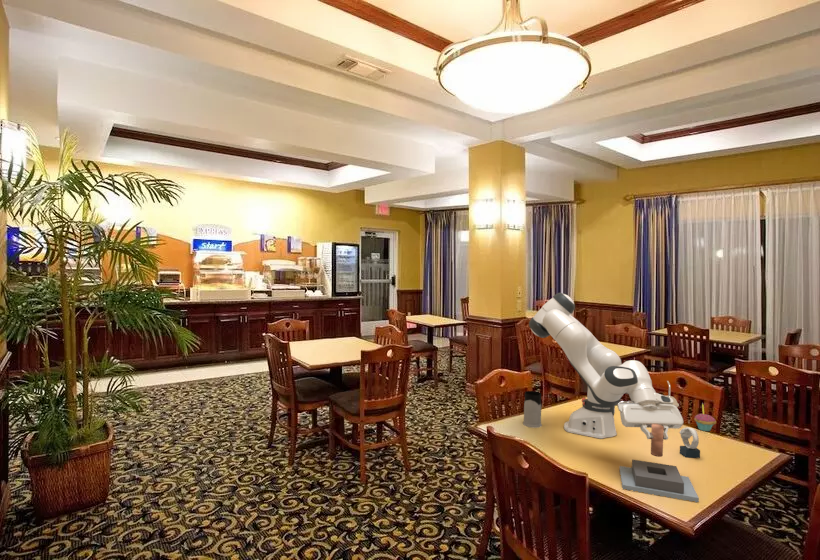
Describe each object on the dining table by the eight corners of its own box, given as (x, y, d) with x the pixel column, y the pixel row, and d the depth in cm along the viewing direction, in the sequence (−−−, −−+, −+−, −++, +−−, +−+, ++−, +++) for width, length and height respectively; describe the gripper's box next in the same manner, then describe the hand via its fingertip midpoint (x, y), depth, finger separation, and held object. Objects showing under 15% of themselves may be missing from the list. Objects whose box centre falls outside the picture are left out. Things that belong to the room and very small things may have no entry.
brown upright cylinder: (649, 454, 155) (650, 425, 155) (652, 451, 158) (653, 423, 158) (661, 457, 153) (662, 428, 153) (663, 454, 156) (664, 425, 156)
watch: (690, 451, 186) (691, 425, 185) (702, 460, 178) (703, 432, 177) (676, 451, 186) (677, 424, 186) (688, 459, 178) (689, 431, 178)
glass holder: (520, 425, 214) (521, 393, 213) (529, 417, 226) (530, 387, 225) (538, 429, 209) (539, 396, 209) (547, 420, 221) (547, 390, 221)
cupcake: (689, 426, 216) (690, 401, 216) (706, 426, 217) (707, 401, 217) (702, 432, 208) (703, 406, 207) (720, 432, 208) (721, 406, 208)
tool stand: (622, 489, 153) (622, 474, 152) (619, 469, 167) (619, 456, 167) (698, 502, 144) (699, 487, 144) (688, 481, 159) (688, 467, 159)
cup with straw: (655, 423, 219) (656, 382, 218) (662, 419, 225) (663, 379, 225) (674, 428, 213) (676, 386, 212) (681, 424, 219) (682, 383, 218)
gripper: (618, 396, 163) (630, 433, 153) (677, 398, 162) (692, 435, 152) (613, 405, 167) (624, 441, 158) (670, 407, 166) (684, 443, 157)
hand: (658, 438), depth 155 cm, fingers closed on brown upright cylinder, 4 cm apart
